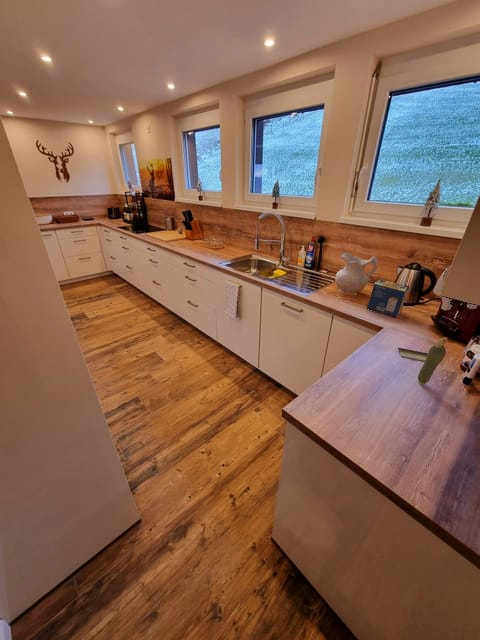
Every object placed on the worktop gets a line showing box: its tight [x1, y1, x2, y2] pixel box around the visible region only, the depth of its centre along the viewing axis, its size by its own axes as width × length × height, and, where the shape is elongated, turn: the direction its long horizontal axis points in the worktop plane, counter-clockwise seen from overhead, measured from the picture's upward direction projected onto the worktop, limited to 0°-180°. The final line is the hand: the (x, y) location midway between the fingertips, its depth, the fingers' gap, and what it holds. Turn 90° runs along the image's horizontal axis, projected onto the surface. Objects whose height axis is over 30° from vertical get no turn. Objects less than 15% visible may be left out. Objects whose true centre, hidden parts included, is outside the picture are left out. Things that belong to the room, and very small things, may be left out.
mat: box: [397, 347, 429, 362], centre depth 110 cm, size 13×11×1 cm
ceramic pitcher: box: [335, 252, 379, 296], centre depth 164 cm, size 22×20×25 cm
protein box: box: [366, 278, 410, 319], centre depth 142 cm, size 10×15×16 cm
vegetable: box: [417, 336, 449, 385], centre depth 89 cm, size 4×4×20 cm
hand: (458, 308), depth 79 cm, fingers open, 8 cm apart
